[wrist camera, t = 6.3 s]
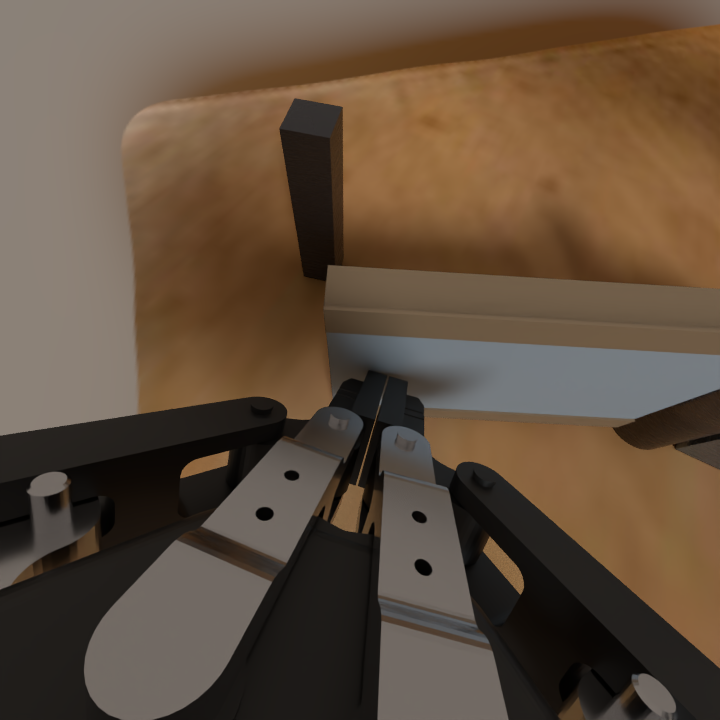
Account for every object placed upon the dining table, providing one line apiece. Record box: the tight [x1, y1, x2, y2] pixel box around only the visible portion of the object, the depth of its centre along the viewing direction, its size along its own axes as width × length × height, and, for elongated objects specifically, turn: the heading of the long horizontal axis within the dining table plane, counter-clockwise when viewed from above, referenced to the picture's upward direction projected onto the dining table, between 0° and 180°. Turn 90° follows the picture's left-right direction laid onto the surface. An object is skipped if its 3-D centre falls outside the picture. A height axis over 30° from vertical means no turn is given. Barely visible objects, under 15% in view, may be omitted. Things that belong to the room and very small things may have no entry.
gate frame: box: [280, 99, 720, 469], centre depth 14 cm, size 29×3×12 cm, turn 61°
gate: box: [323, 265, 720, 427], centre depth 14 cm, size 14×1×9 cm, turn 87°
